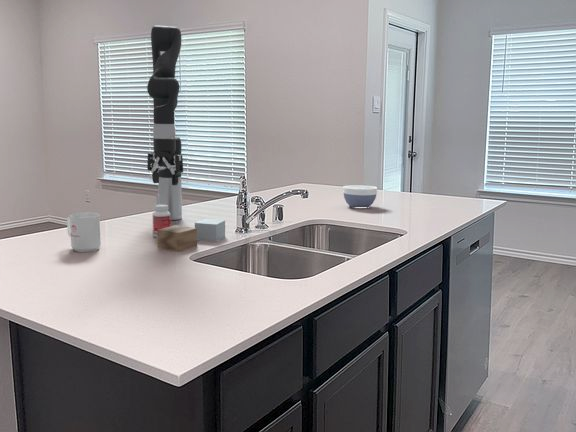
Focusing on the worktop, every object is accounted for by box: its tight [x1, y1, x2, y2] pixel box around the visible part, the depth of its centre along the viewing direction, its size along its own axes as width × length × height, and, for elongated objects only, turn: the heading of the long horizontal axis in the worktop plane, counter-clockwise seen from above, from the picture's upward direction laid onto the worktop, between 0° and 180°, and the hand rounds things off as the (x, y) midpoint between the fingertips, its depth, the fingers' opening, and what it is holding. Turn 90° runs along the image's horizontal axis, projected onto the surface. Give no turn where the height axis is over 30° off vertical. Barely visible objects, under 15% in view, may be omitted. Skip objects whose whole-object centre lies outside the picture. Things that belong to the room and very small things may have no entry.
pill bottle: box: [152, 204, 172, 239], centre depth 206 cm, size 6×6×11 cm
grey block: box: [194, 218, 226, 243], centre depth 205 cm, size 8×8×6 cm
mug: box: [66, 212, 102, 253], centre depth 186 cm, size 12×9×11 cm
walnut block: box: [156, 224, 198, 252], centre depth 192 cm, size 9×9×6 cm
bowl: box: [342, 184, 378, 208], centre depth 275 cm, size 16×16×10 cm
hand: (165, 184), depth 204 cm, fingers open, 8 cm apart
